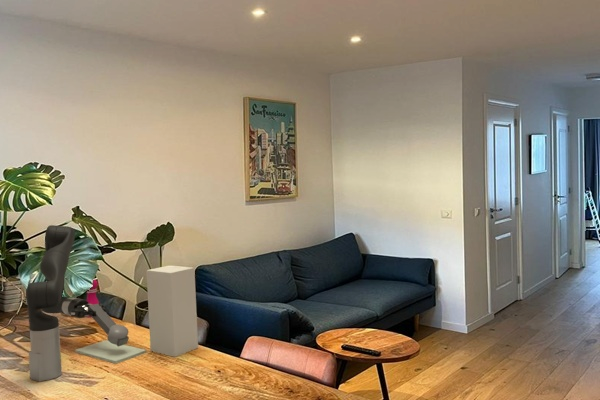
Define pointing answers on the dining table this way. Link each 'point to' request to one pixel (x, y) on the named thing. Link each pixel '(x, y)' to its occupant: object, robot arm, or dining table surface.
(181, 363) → the dining table surface
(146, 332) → the dining table surface
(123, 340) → the gray mallet
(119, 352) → the assembly mat
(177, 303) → the tower
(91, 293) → the pepper mill
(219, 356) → the dining table surface
